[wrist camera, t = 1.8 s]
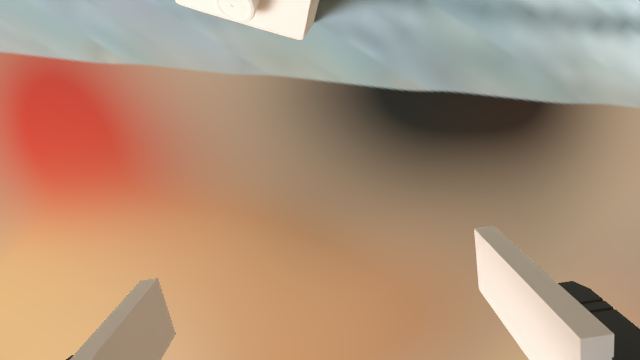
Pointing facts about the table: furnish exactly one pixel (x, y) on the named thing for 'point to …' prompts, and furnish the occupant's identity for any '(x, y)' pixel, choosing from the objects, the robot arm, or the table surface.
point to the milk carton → (263, 13)
